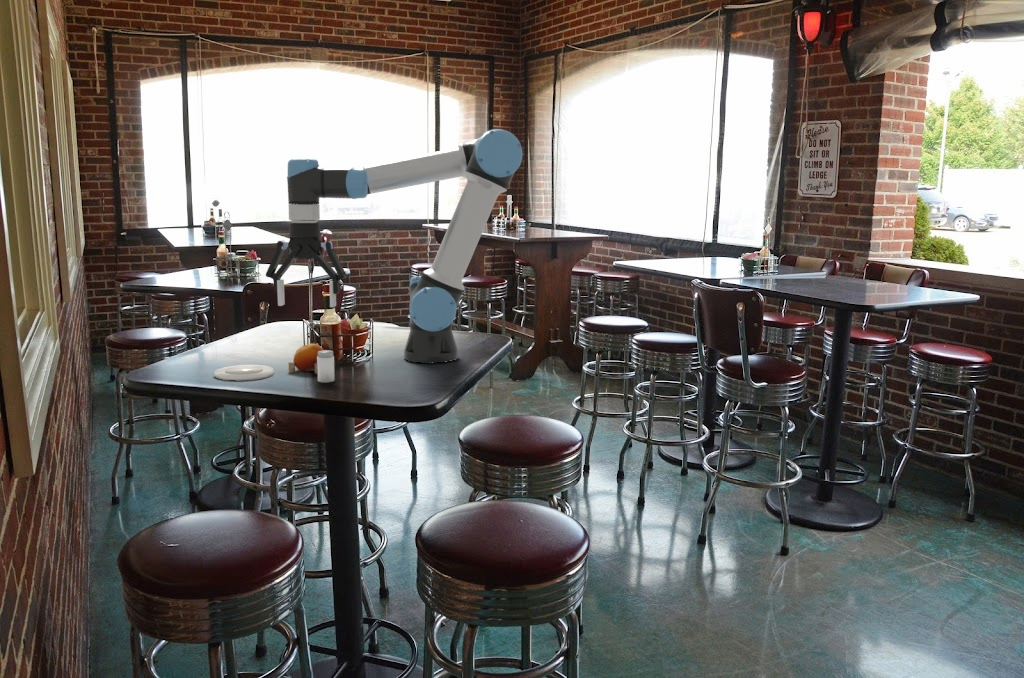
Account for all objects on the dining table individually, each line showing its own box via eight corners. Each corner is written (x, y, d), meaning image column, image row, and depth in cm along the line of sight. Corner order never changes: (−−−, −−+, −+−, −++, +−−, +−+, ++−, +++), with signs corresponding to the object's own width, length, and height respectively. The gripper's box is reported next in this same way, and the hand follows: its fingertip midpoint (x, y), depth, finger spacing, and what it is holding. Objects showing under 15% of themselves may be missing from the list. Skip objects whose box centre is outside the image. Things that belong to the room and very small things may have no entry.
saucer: (281, 369, 209) (281, 364, 209) (260, 381, 196) (259, 376, 195) (229, 367, 210) (229, 362, 210) (204, 379, 197) (204, 373, 197)
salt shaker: (336, 379, 200) (336, 350, 199) (331, 382, 196) (330, 353, 195) (320, 378, 200) (320, 349, 199) (315, 382, 196) (314, 352, 195)
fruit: (324, 368, 204) (308, 341, 204) (299, 383, 206) (283, 355, 206) (337, 362, 212) (321, 336, 212) (313, 376, 214) (298, 350, 214)
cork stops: (330, 367, 213) (330, 357, 213) (320, 373, 205) (319, 364, 205) (299, 365, 214) (299, 356, 214) (287, 372, 206) (287, 363, 205)
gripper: (357, 222, 206) (359, 305, 209) (262, 220, 208) (265, 302, 212) (348, 223, 198) (350, 309, 202) (250, 221, 201) (253, 306, 204)
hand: (307, 306), depth 207 cm, fingers open, 13 cm apart
